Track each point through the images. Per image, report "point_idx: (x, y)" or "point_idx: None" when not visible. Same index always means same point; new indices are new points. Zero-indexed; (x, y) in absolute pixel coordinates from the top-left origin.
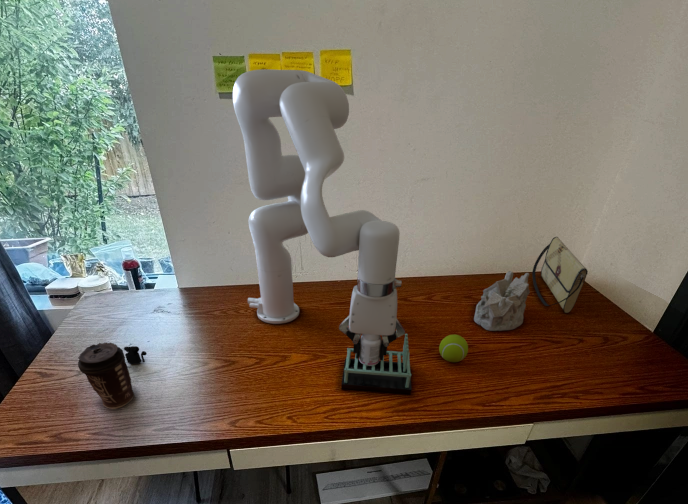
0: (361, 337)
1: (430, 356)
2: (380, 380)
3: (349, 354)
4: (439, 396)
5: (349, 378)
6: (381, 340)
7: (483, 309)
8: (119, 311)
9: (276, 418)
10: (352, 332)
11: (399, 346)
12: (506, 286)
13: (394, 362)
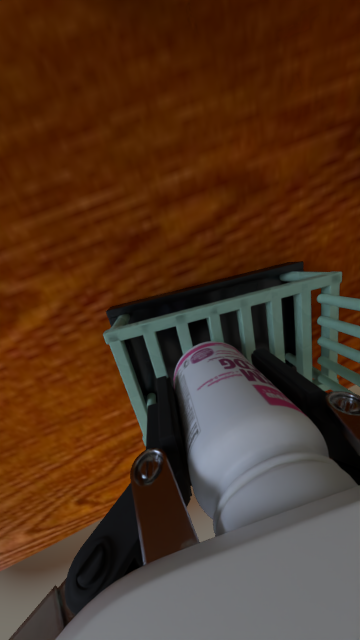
0: (204, 509)
1: (350, 174)
2: None
3: (129, 371)
4: (349, 339)
5: (150, 371)
6: (303, 404)
7: None
8: None
9: (58, 513)
10: (127, 548)
11: (256, 140)
12: None
13: (260, 275)
